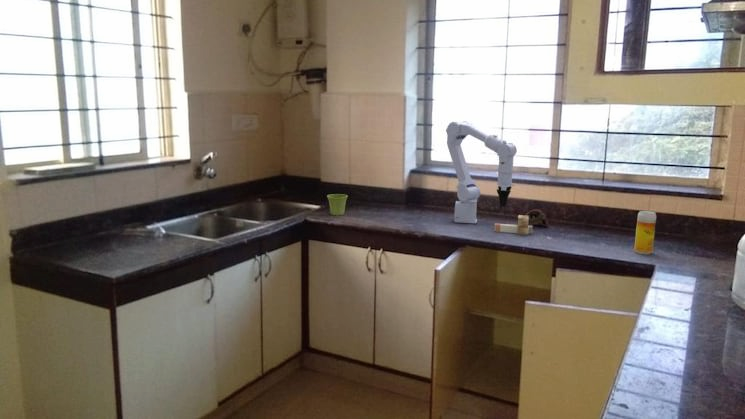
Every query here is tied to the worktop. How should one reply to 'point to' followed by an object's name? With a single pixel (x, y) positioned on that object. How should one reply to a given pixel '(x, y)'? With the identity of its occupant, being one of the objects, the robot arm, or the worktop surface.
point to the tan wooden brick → (522, 224)
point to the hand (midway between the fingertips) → (503, 204)
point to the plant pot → (337, 203)
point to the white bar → (509, 228)
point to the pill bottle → (645, 232)
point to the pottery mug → (537, 218)
